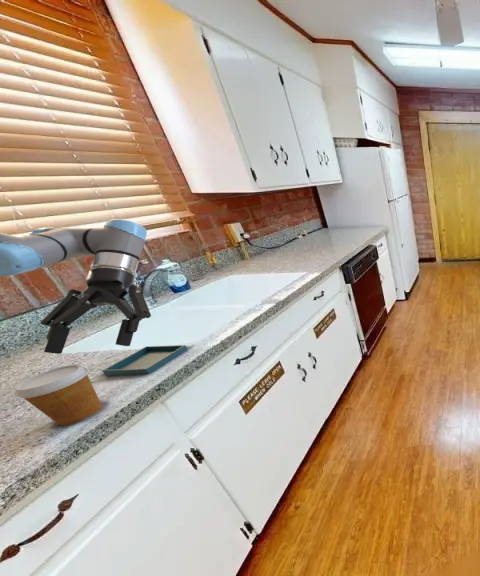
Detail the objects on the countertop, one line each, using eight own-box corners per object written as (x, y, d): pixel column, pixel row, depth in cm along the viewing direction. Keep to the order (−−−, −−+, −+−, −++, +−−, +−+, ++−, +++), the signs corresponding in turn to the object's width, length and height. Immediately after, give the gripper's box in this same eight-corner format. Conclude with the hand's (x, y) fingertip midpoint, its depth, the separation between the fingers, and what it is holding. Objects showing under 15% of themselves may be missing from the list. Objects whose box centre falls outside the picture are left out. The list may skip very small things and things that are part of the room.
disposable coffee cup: (71, 408, 73) (38, 370, 69) (123, 396, 77) (96, 359, 72) (33, 438, 65) (-7, 397, 61) (93, 423, 69) (60, 383, 64)
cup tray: (105, 376, 84) (101, 370, 83) (149, 351, 95) (146, 346, 94) (149, 374, 85) (146, 369, 84) (188, 350, 96) (185, 345, 95)
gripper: (180, 274, 87) (163, 344, 80) (70, 281, 81) (42, 358, 74) (156, 262, 80) (135, 339, 73) (34, 270, 74) (-1, 353, 67)
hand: (88, 349), depth 73 cm, fingers open, 13 cm apart
